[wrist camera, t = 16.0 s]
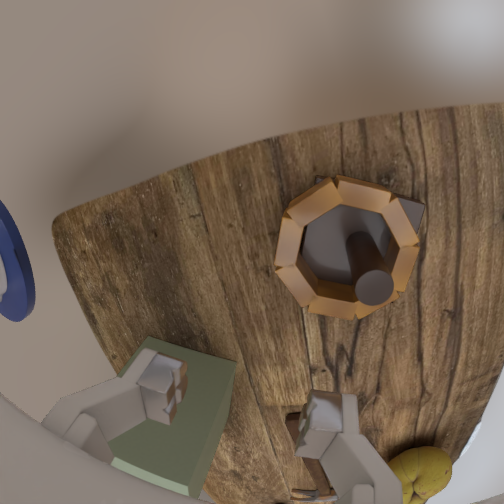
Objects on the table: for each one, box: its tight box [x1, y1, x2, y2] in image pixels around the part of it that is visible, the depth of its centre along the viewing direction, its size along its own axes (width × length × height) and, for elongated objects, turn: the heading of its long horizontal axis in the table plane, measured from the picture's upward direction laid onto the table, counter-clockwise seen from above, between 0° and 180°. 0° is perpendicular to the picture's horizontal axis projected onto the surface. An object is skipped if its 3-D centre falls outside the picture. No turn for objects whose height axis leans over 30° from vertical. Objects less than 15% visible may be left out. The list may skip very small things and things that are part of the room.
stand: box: [300, 175, 425, 306], centre depth 20 cm, size 9×9×8 cm
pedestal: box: [107, 336, 237, 499], centre depth 27 cm, size 11×11×16 cm
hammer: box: [285, 414, 339, 502], centre depth 37 cm, size 12×3×30 cm
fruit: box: [387, 446, 452, 504], centre depth 29 cm, size 11×12×10 cm
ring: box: [274, 175, 420, 320], centre depth 21 cm, size 10×10×3 cm
